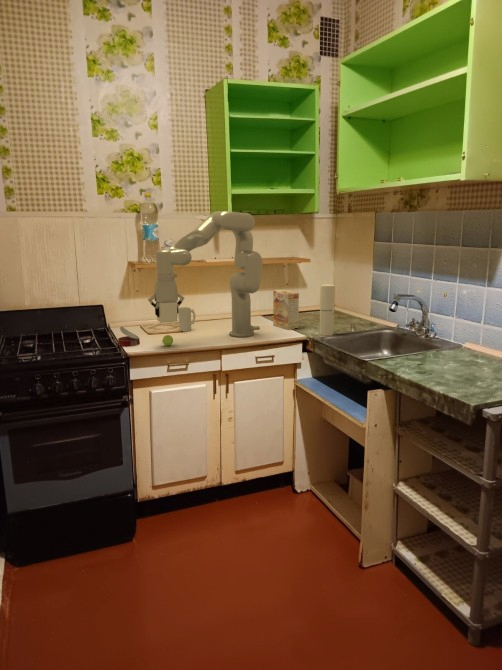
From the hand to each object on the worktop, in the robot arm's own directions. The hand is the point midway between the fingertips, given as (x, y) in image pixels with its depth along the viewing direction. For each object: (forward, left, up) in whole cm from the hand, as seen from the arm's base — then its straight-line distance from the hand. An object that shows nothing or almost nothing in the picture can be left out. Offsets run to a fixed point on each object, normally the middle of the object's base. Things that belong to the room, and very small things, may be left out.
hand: (167, 315), depth 234 cm
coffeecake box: (-69, -17, -15) cm, 73 cm away
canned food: (+16, -12, -15) cm, 25 cm away
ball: (0, -1, -12) cm, 12 cm away
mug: (-18, -31, -15) cm, 39 cm away
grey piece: (0, 0, -2) cm, 2 cm away
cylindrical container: (-80, +7, -15) cm, 82 cm away
